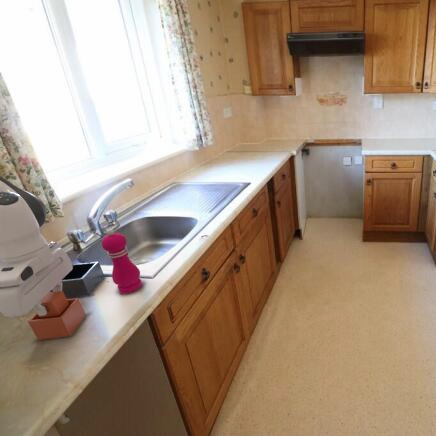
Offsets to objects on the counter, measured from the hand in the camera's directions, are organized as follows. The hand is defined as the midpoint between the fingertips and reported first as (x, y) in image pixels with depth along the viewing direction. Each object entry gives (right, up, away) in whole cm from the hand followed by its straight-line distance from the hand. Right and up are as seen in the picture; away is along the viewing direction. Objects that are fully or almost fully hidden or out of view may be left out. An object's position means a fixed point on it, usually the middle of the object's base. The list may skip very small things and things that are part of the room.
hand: (52, 305), depth 81 cm
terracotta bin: (0, -6, +3) cm, 7 cm away
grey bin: (-7, +1, +19) cm, 20 cm away
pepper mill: (+9, +1, +18) cm, 20 cm away
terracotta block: (0, -2, +1) cm, 2 cm away
